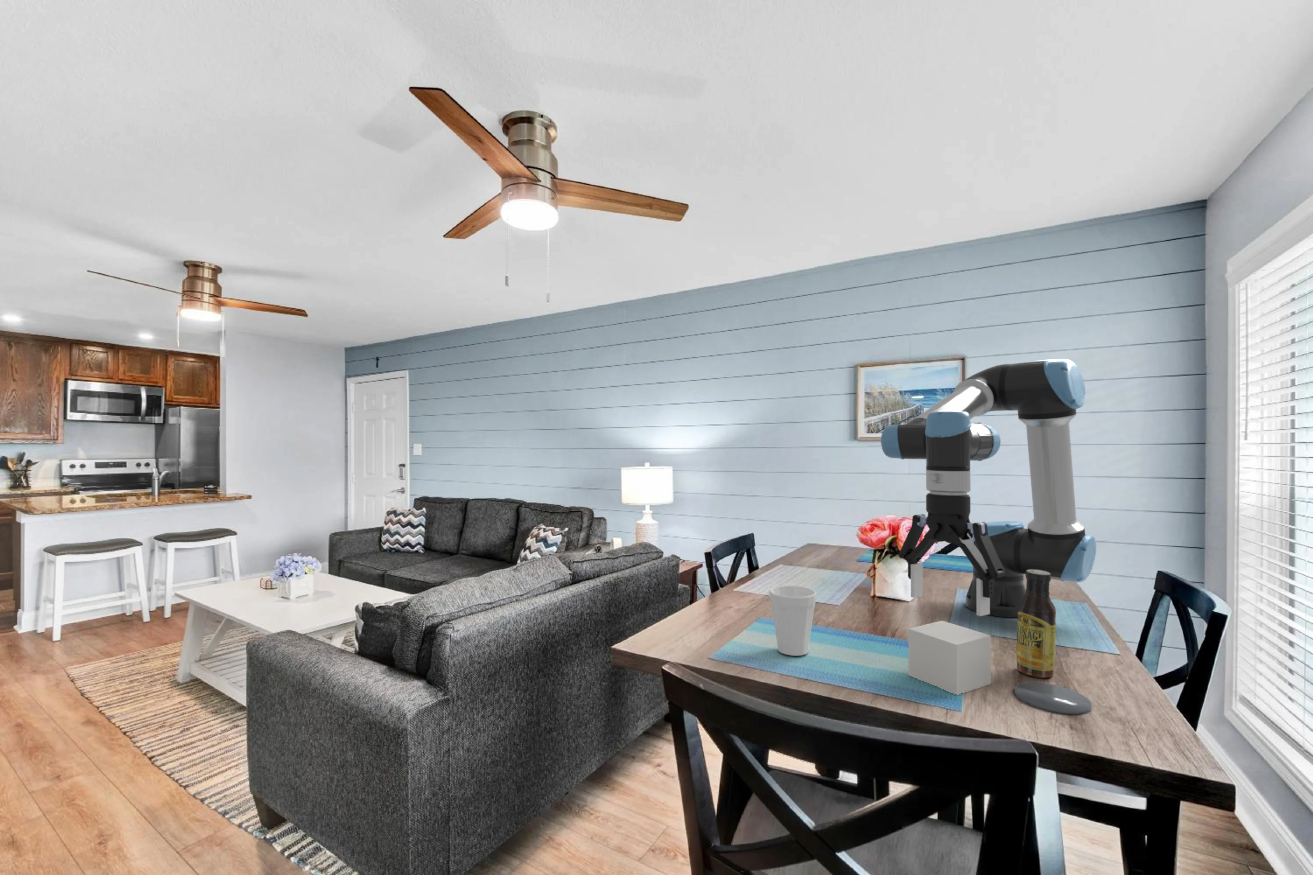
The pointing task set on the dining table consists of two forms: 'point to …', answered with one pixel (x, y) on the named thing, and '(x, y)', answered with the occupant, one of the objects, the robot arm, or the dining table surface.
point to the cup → (792, 617)
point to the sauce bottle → (1036, 627)
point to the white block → (950, 656)
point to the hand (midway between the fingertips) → (948, 605)
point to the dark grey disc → (1053, 698)
